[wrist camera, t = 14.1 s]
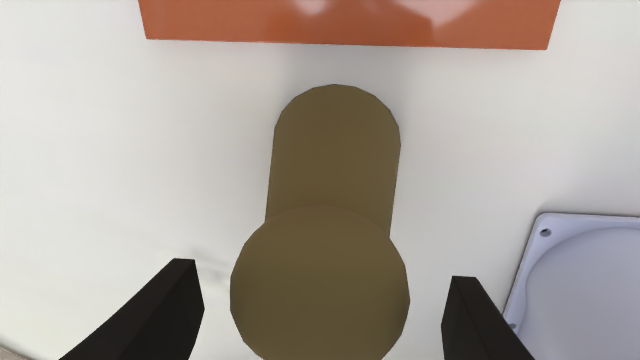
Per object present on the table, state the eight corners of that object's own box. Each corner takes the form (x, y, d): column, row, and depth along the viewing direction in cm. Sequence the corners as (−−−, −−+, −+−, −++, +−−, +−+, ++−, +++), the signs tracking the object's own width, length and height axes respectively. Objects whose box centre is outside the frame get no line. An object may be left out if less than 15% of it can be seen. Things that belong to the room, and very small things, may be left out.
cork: (420, 105, 19) (475, 293, 10) (376, 210, 22) (385, 426, 13) (288, 67, 19) (213, 226, 9) (262, 180, 22) (188, 380, 13)
